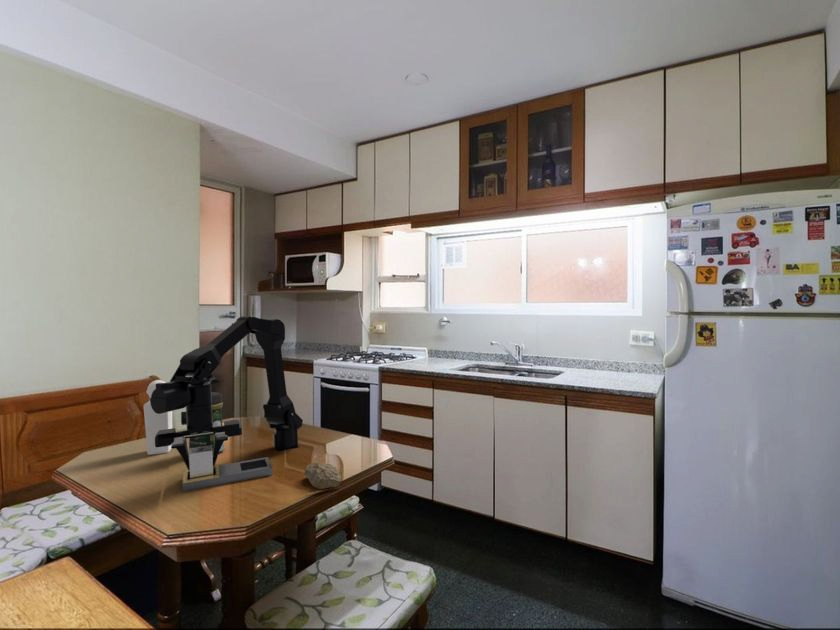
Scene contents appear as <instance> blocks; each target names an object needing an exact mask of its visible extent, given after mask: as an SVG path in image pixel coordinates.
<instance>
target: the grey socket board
mask: <svg viewBox="0 0 840 630" xmlns="http://www.w3.org/2000/svg"><path fill="white" fill-rule="evenodd" d="M182 476H183V477H182V482H181V483H182V484H181V485H182V492H189V491H194V490H201V489H206V488H210V487H215V486H221V485H226V484H232V483H238V482H243V481H248V480H253V479H260V478H264V477H268V476H273V466H272V464H271V461H270V459H269V457H268V456H267V457H260V458H253V459H247V460H242V461H237V462H236V461H235V462H231V463H224V464H215V466H213V475H212V476H206V477H201V478H195V479H190V470H188V469H185V470H184V471H183V475H182Z"/></svg>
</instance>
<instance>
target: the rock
mask: <svg viewBox="0 0 840 630" xmlns="http://www.w3.org/2000/svg"><path fill="white" fill-rule="evenodd" d="M304 475H305V477H306V478H307V479H308V481H309V483H310V484H311V485H312V486H313V487H314V488H316V489H317V490H325V489H329V488H332V489H333V488H334V489H337V488H339V487H340V484H341V481H342V480H343V479H342V477H341V475H340V473H339V470H338V469H337V468H336V466H334V465H333V464H331V463H323V462H317V461H314V462H311V463H309V464H308V465H307V466H306V467H305V469H304Z"/></svg>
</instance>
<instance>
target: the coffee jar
mask: <svg viewBox="0 0 840 630" xmlns="http://www.w3.org/2000/svg"><path fill="white" fill-rule="evenodd" d="M211 395H212V415H213V427H216V426H223V420H222V419H223V416H222V412H223V404H224V403H223V402H224V401H223V396H222V393H220V392H219V391H218V392H215V391H211ZM206 432H209V431H206ZM192 434H196V433H192ZM214 439H215V434H214V435H207V436H200V437H193V438H188V440H189V441H188V452H189V451H190V448H196V447H203V446H209V445H212V454H213V450H214ZM223 451H225V441H224V442H223V444H222V446H221V448H220V450H219V453H218V455H219V454H221V453H222V452H223Z"/></svg>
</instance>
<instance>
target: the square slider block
mask: <svg viewBox="0 0 840 630" xmlns="http://www.w3.org/2000/svg"><path fill="white" fill-rule="evenodd" d="M188 453H189V466H190V479H195V478H201V477H206V476H212V475H213V454H212V445H209V446H203V447H196V448H190V451H189V450H188Z"/></svg>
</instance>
